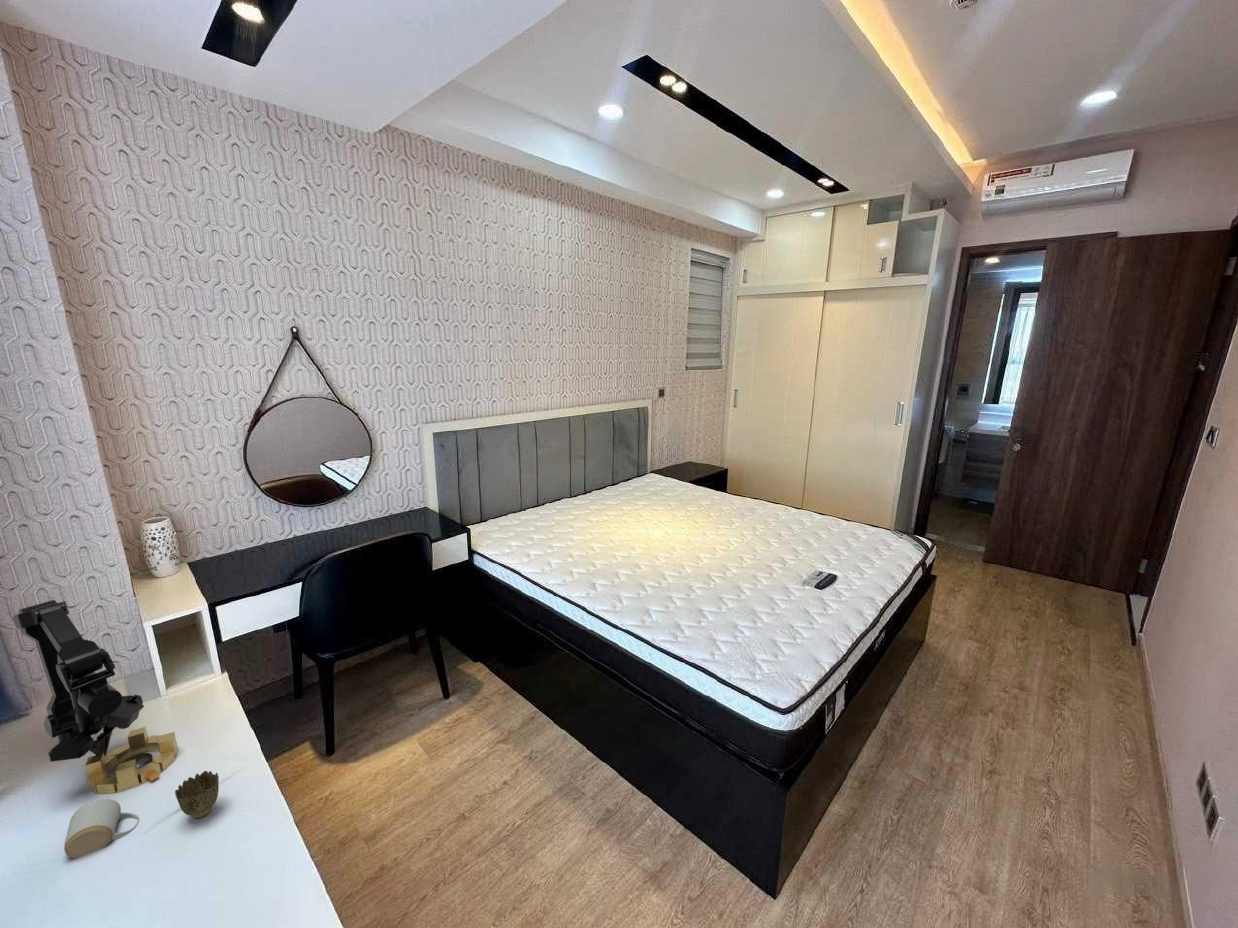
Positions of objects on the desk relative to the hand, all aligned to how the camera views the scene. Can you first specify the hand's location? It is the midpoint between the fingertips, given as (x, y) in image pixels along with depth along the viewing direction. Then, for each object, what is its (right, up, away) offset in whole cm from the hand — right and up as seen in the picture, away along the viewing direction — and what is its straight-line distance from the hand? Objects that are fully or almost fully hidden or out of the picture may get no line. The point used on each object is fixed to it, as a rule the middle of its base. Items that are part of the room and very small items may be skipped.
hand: (102, 756), depth 123 cm
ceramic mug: (+16, -9, -15) cm, 24 cm away
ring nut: (+6, -4, +2) cm, 7 cm away
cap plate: (+6, -5, +2) cm, 8 cm away
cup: (+32, -8, -9) cm, 34 cm away
